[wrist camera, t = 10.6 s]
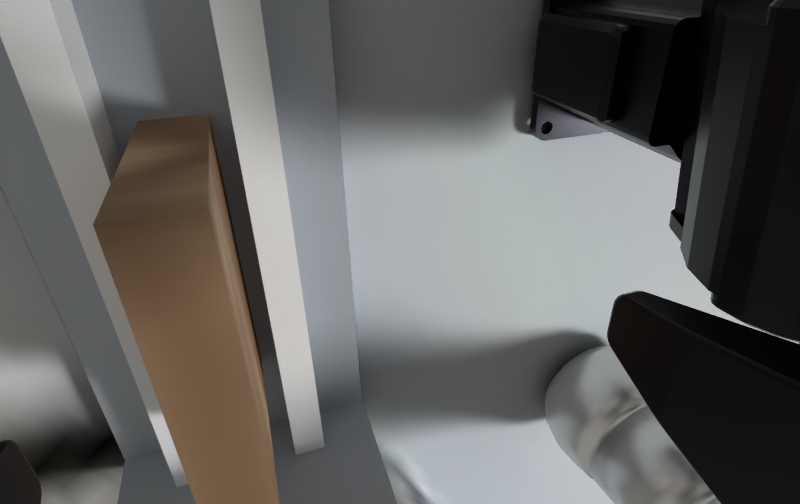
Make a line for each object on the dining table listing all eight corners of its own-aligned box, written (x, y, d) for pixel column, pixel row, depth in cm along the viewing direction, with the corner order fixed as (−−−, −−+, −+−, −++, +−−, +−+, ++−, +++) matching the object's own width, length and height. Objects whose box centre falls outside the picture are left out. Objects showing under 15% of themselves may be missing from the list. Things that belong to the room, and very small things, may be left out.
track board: (315, -75, 15) (400, -97, 8) (358, 408, 25) (411, 570, 18) (-95, -70, 12) (-443, -97, 6) (138, 465, 23) (109, 676, 16)
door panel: (209, 113, 16) (208, 208, 10) (261, 361, 21) (281, 518, 15) (137, 121, 15) (92, 224, 9) (209, 372, 20) (209, 540, 14)
